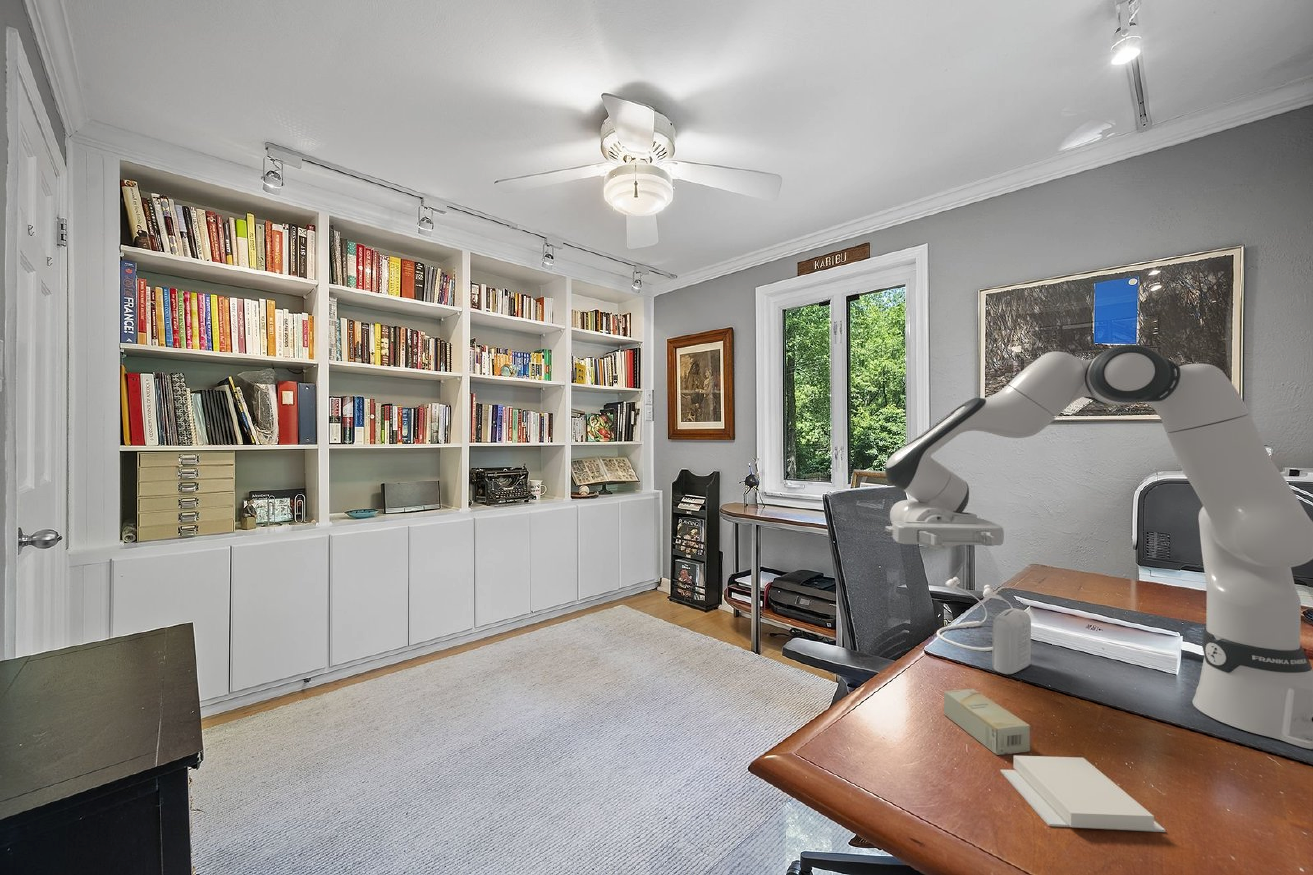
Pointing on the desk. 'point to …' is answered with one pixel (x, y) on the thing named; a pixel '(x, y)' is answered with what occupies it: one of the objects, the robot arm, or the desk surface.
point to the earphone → (987, 594)
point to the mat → (1042, 806)
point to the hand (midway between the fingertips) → (964, 541)
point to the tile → (1082, 793)
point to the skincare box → (987, 721)
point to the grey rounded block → (1011, 641)
